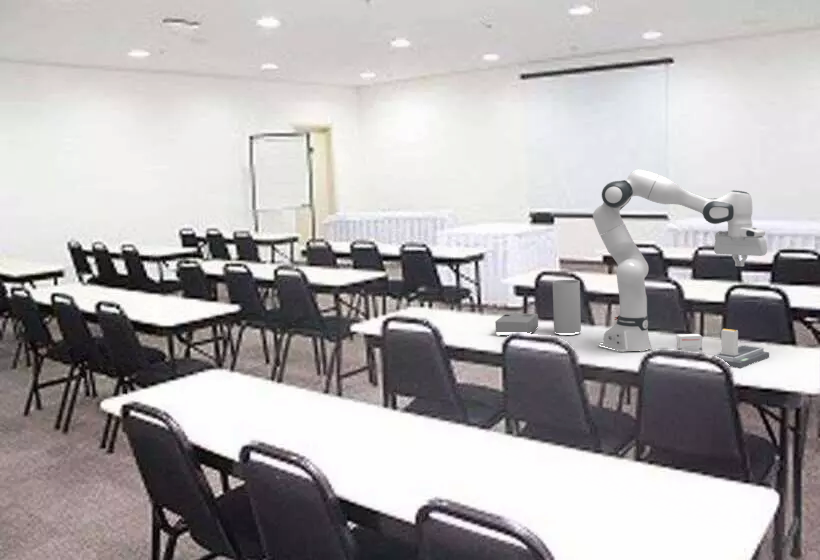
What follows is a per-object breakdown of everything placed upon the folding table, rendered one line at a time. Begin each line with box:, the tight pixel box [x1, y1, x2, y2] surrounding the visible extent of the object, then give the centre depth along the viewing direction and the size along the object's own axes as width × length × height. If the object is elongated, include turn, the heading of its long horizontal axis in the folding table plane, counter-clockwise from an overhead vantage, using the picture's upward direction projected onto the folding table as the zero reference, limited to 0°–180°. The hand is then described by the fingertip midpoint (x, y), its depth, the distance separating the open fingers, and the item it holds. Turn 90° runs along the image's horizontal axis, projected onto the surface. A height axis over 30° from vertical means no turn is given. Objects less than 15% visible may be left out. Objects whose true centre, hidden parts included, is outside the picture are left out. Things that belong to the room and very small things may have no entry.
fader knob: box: [718, 328, 740, 358], centre depth 282 cm, size 6×4×11 cm, turn 38°
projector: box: [494, 312, 539, 333], centre depth 361 cm, size 17×22×8 cm
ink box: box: [675, 333, 703, 354], centre depth 284 cm, size 9×5×12 cm, turn 84°
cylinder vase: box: [552, 279, 582, 333], centre depth 351 cm, size 12×12×25 cm
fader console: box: [713, 344, 770, 369], centre depth 287 cm, size 13×22×3 cm, turn 128°
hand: (739, 266), depth 295 cm, fingers closed
